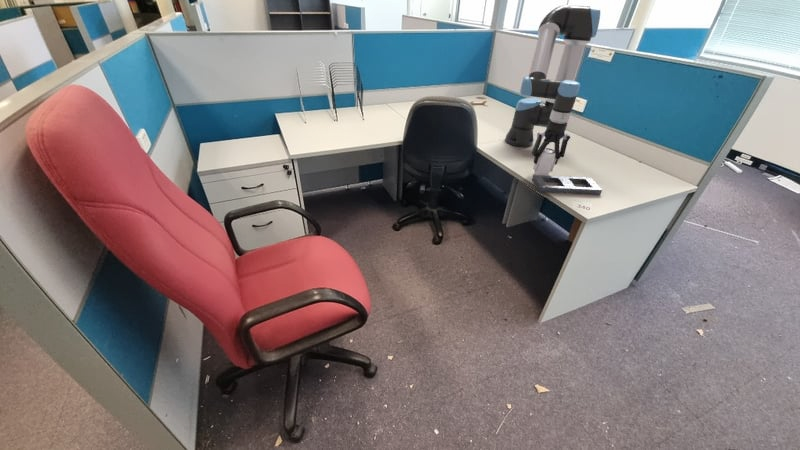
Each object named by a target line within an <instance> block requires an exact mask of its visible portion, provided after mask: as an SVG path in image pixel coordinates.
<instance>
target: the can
mask: <svg viewBox="0 0 800 450" xmlns="http://www.w3.org/2000/svg"><path fill="white" fill-rule="evenodd" d="M540 158H541V159H540V162H539V165H538V168H537V171H535V170H534V172H533V174H534V175H543V176H550V170H551V167H552V164H553V161H554V158H555V149H553V148H552V149H551V148H547V147H546V148H545V149H544V151H543V152H542V154H541V155H540Z"/></svg>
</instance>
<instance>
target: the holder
mask: <svg viewBox="0 0 800 450" xmlns="http://www.w3.org/2000/svg"><path fill="white" fill-rule="evenodd" d="M531 182H532V183H533V184H534V186H535V188H536V189H537V191H538V192H539V193H543V194H544V193H545V194H547V193H549V194H568V195H569V194H570V195H590V196H591V195H593V196H601V193H602V191H603V189H602V188H601V186H600V185H599V184H598V183H597V182H596V181H595V180H594V179H593V178H592V177H586V176H581V177H580V176H565V175H564V176H562V175H561V176H560V175H549V176H543V175H535V174H534V175H532V177H531ZM547 183H552V184H557V185H547ZM576 184H577V185H584V186H575V185H576Z"/></svg>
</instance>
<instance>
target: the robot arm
mask: <svg viewBox="0 0 800 450" xmlns="http://www.w3.org/2000/svg"><path fill="white" fill-rule="evenodd" d="M600 19H601V8H599V7H598V6H597V7H596V6H591V5H589V6H588V5H585V6H583V5H568V4H564V5H559V6H557V7H555V8H554V9H552V10H550V12H548V13H547V14H546V16H544V17H543V18H542V20H541V22H540V23H539V27H538V29H537V37H538V38H537V42H536V47H535V50H534V54H533V57H532V61H531V65H530V69H529V74H528V76H524V77H523V79H522V83H521V86H520V90H519V94H520V95H521V96H526V98H522V99H520V100H518V101H517V103H516V106H515V109H514V110H515V111H514V114H513V119H512V123H511V125H510V126H511V127H510V129H509V130H508V132H507V133H506V135H505V139H504V141H505V142H506V143H507V144H509V145H511V146H513V147H520V148H529V147H531V146H533V148H532V150H531V155H532V156H533V157H534V159H533V164H534V165H533V170H534V172H535V171H537V168H538V165H539V162H540V159H541V158H540V155H541V154H542V152H543V151H544V149H545V148H547V146H548V145H549V144H550V143H554V151H555V158H554V161H553V164H552V167H551V170H550V172H551V173H552V172H553V170H554V167H555V165H558V161H559V160H560V159H561V158H564V157H565V154H566V150H567V145H568V142H569V141H570V139H571V136H570V135H569V134H568V133H566V132H565V131H566V129H567V127H568V122H569V121H570V118H571V115H572V111H573V109H574V105H575V102H576V100H577V97H578V94H579V92H580V88H581V84H580V82H578V81H575V79H576V77H577V76H576V75H577V72H578V69H579V66H580V62H581V59H582V56H583V53H584V49H585V48H586V45H588V44H589V43H590V42H591V40H592V39H593V38H595V37H596V36H597V32H598V30H599V25H600ZM559 36H564V37H563V42H564V48H563V52H562V55H561V58H560V62H559V65H558V69H557V73H556V76H555V78H554V79H547V77H548V72H549V68H550V64H551V60H552V56H553V51H554V47H555V44H556V40H557V38H558V37H559ZM540 98H541V99H545V102H542V100H541V99H540ZM535 127H542V128H546V129H545V131H544V132H542V133H541V132H538V133H537V134H536V140H535V139H534V128H535ZM565 133H566V134H565ZM542 139H543V142H542ZM561 139H562V140H561ZM534 140H535V143H534ZM560 140H561V141H562V142H561V141H560ZM560 142H561V143H560ZM533 144H534V145H533Z"/></svg>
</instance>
